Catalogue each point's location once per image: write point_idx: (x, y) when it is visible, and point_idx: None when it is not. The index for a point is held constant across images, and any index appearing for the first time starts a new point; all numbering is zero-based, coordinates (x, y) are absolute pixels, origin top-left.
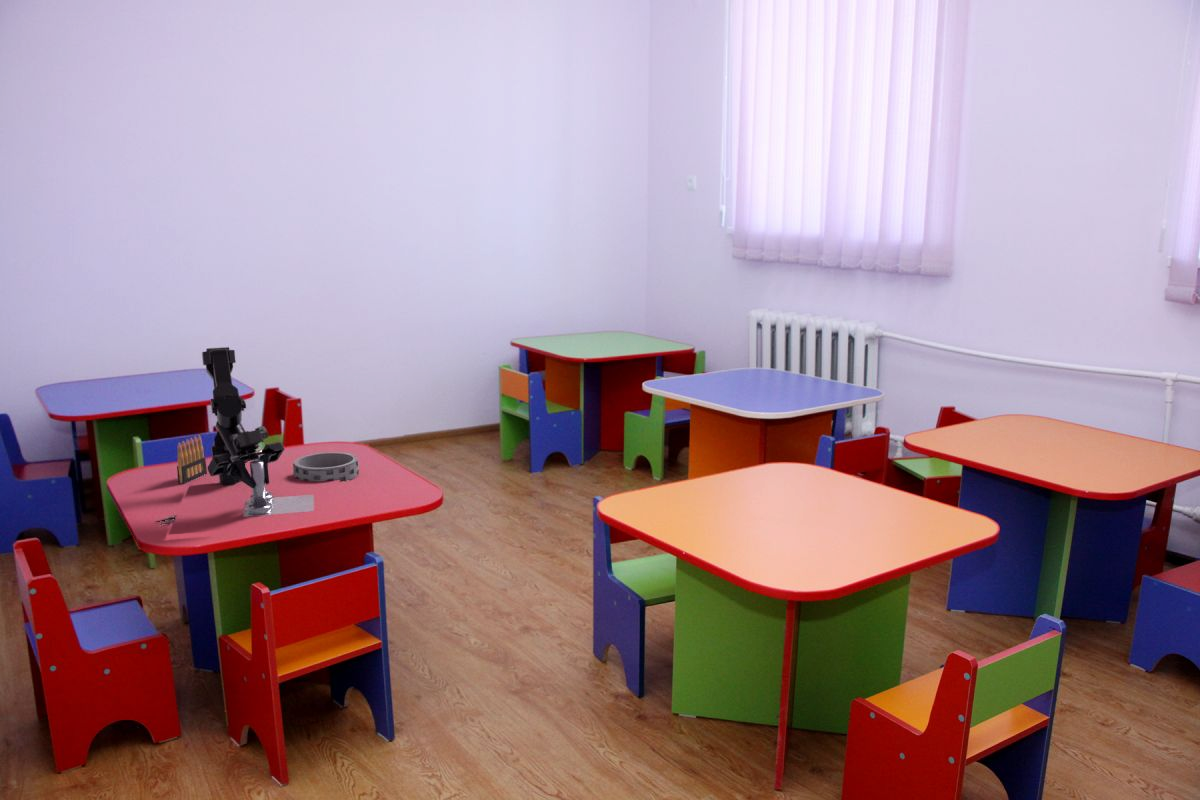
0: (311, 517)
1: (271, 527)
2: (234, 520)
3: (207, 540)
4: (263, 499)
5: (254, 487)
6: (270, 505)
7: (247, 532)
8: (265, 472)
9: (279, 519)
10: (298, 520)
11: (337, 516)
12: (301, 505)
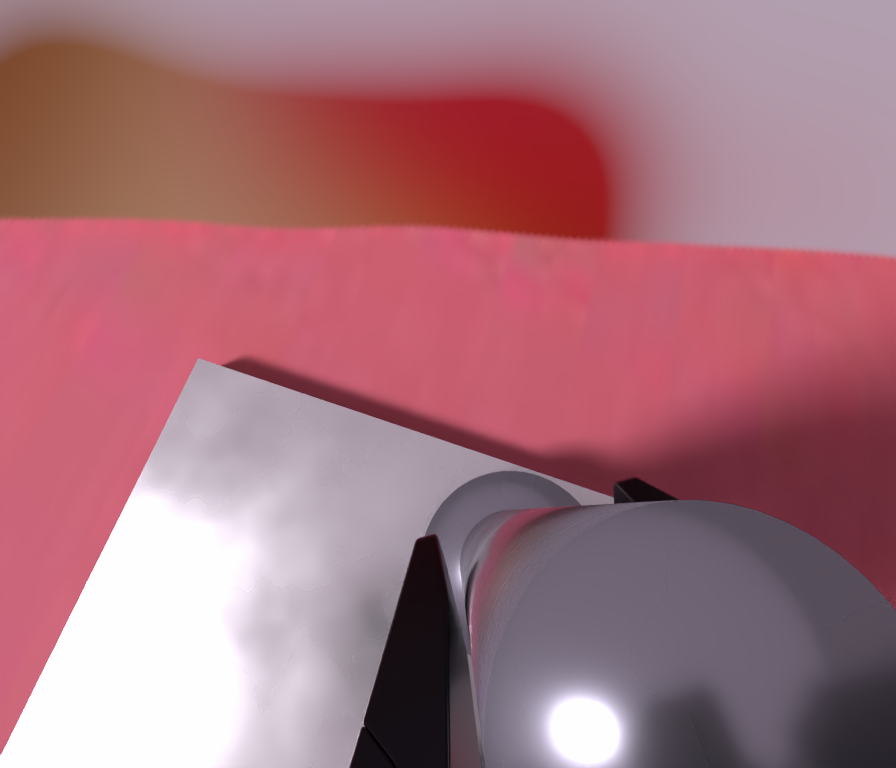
0: (244, 339)
1: (500, 300)
2: None
3: (864, 289)
4: (496, 514)
5: (616, 498)
6: (437, 520)
7: (640, 294)
8: (431, 662)
9: (417, 413)
10: (328, 330)
11: (119, 272)
12: (210, 522)
